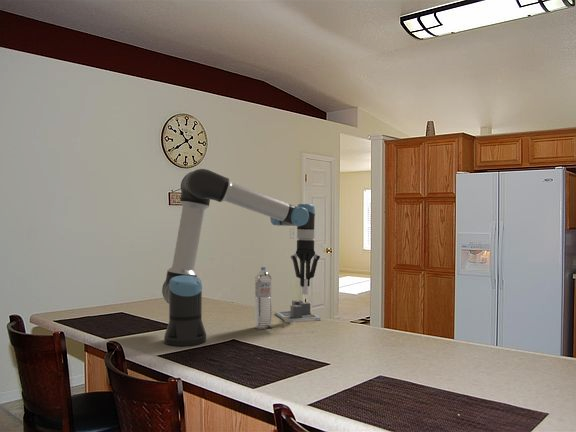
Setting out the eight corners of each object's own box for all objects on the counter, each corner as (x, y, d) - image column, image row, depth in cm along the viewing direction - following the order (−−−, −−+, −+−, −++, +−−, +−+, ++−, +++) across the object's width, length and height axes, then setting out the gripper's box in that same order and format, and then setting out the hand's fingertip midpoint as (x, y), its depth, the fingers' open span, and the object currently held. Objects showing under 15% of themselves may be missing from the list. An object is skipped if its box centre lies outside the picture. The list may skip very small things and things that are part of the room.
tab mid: (310, 317, 220) (310, 303, 220) (301, 317, 219) (301, 303, 219) (307, 315, 224) (307, 301, 224) (298, 316, 222) (298, 302, 223)
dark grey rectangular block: (302, 320, 212) (302, 306, 212) (293, 321, 211) (293, 306, 211) (299, 318, 216) (299, 304, 216) (290, 319, 215) (290, 305, 215)
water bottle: (272, 326, 208) (272, 266, 209) (270, 329, 202) (270, 268, 202) (256, 325, 209) (256, 266, 209) (253, 329, 202) (253, 268, 202)
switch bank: (320, 323, 213) (320, 317, 213) (287, 325, 209) (287, 319, 209) (305, 315, 231) (305, 309, 231) (275, 317, 227) (275, 311, 227)
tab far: (303, 314, 225) (303, 301, 225) (294, 315, 224) (294, 301, 224) (300, 313, 229) (300, 300, 229) (292, 313, 228) (292, 300, 228)
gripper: (316, 239, 221) (315, 292, 220) (288, 239, 217) (287, 293, 217) (322, 239, 214) (321, 294, 213) (294, 239, 210) (293, 295, 209)
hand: (304, 294), depth 215 cm, fingers closed
